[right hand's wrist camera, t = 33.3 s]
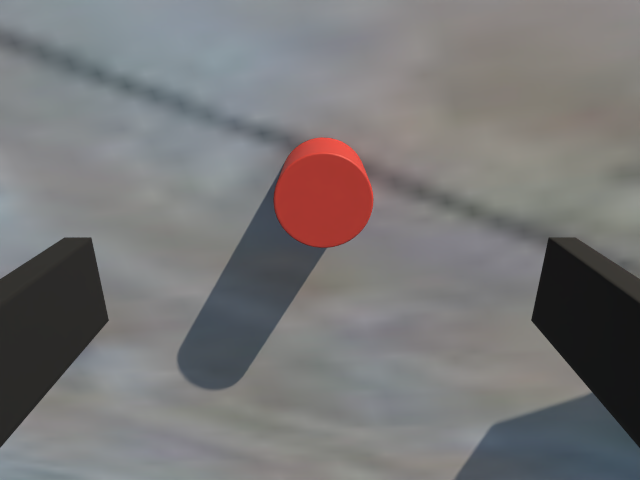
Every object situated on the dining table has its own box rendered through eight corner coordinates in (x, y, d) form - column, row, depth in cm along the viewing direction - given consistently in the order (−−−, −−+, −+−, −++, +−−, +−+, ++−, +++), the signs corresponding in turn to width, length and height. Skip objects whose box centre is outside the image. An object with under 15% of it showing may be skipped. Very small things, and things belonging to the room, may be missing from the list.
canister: (277, 140, 22) (268, 155, 18) (364, 134, 22) (372, 149, 18) (285, 221, 24) (278, 250, 20) (365, 216, 24) (374, 245, 20)
